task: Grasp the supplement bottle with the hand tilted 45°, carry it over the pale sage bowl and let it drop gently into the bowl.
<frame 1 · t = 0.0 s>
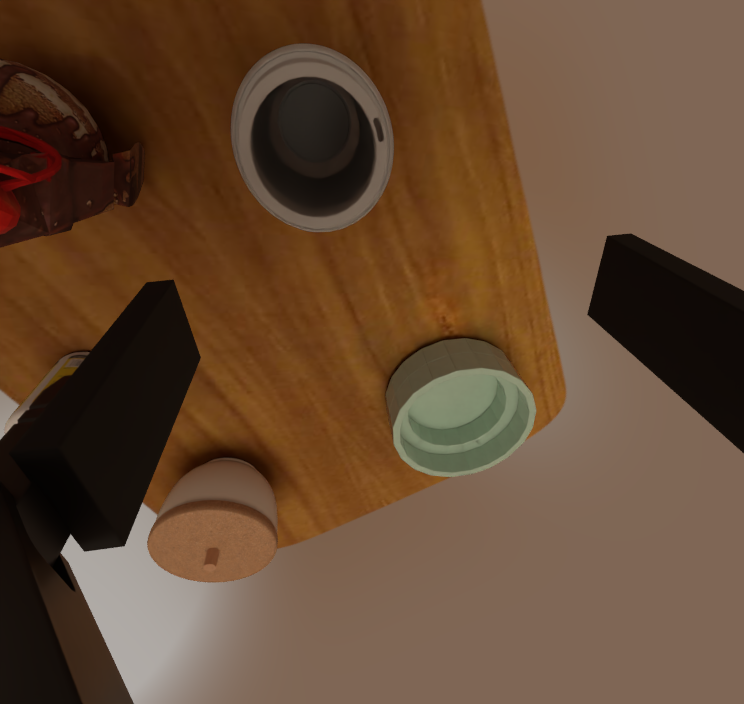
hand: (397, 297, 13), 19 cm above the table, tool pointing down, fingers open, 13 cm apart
trinket box: (229, 476, 43), on the table
sage bowl: (449, 390, 40), on the table
supplement bottle: (95, 375, 35), on the table
cup: (315, 123, 27), on the table
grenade: (69, 143, 26), on the table
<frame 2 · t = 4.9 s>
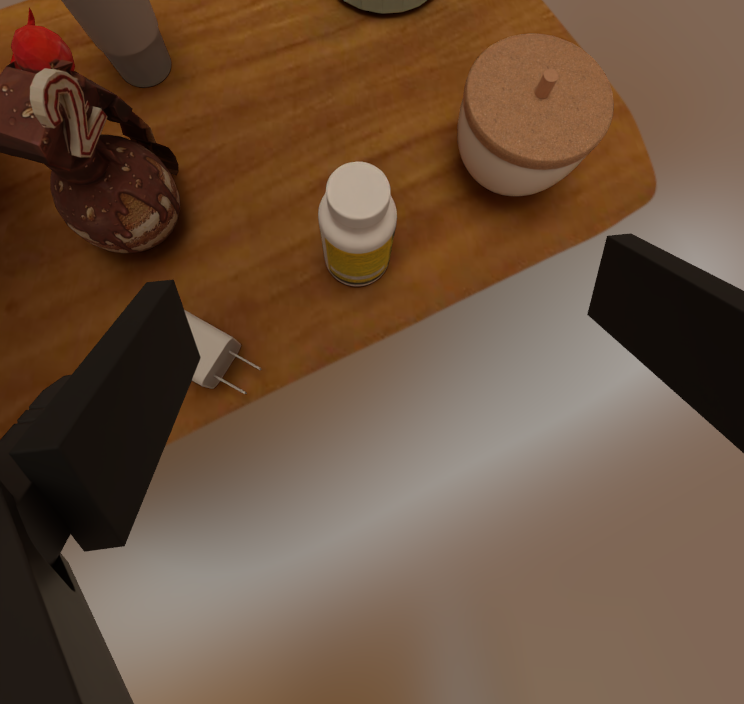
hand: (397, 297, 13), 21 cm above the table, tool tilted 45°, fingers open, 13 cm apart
trinket box: (503, 164, 38), on the table
usb wall charger: (204, 353, 29), point 4 cm above the table
supplement bottle: (357, 258, 36), on the table
cup: (146, 67, 39), on the table
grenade: (149, 217, 36), on the table
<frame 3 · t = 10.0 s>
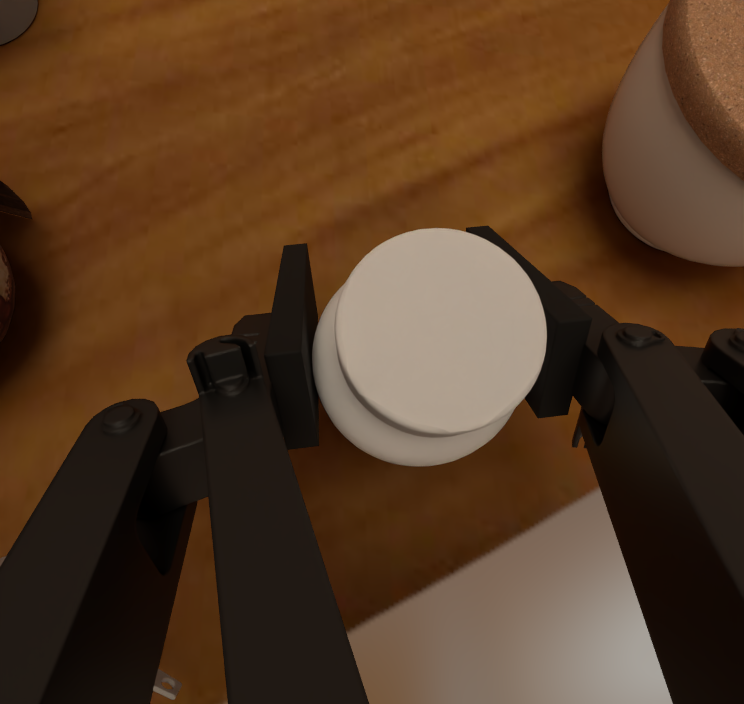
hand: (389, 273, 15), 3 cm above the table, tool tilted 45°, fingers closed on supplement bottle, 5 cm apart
trinket box: (669, 195, 20), on the table
supplement bottle: (394, 389, 18), on the table, touching gripper
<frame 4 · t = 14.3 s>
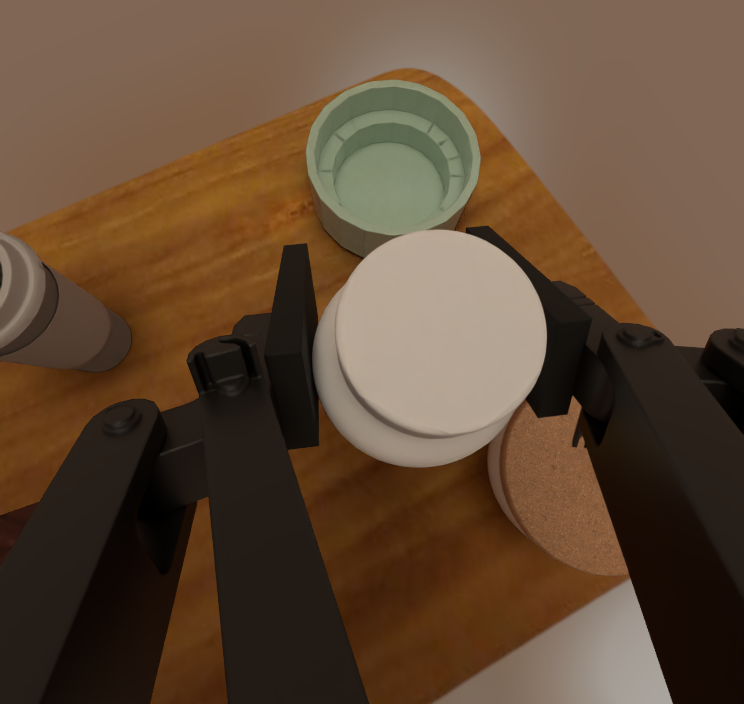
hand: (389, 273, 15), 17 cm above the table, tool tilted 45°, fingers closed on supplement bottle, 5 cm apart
trinket box: (540, 462, 31), on the table
sage bowl: (388, 194, 35), on the table
supplement bottle: (394, 390, 18), point 14 cm above the table, touching gripper
cup: (101, 342, 32), on the table
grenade: (103, 556, 29), on the table
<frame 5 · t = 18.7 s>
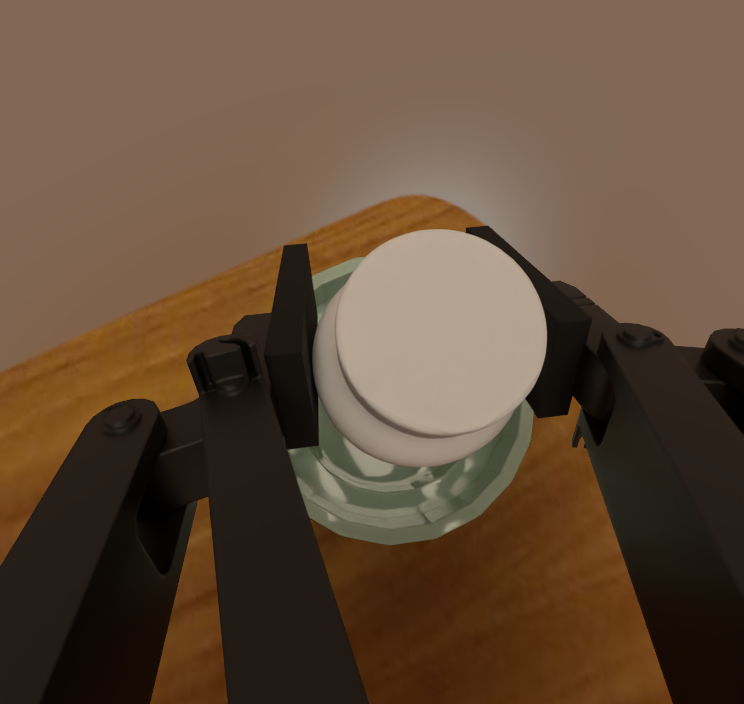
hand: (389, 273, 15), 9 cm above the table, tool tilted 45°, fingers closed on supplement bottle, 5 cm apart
sage bowl: (384, 399, 23), on the table
supplement bottle: (394, 390, 18), point 5 cm above the table, touching gripper
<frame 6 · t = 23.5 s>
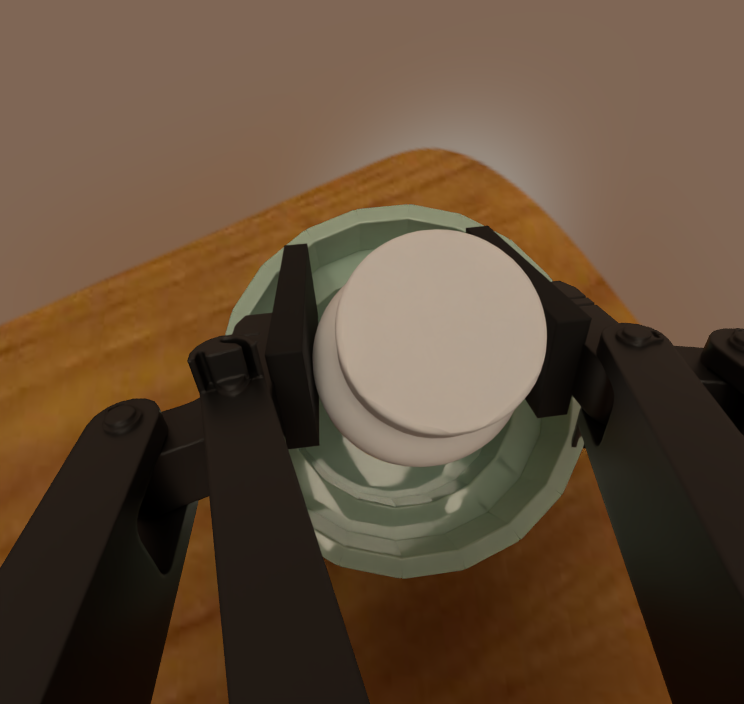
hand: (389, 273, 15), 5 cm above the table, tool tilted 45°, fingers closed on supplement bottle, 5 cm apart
sage bowl: (393, 391, 19), on the table
supplement bottle: (394, 390, 18), point 1 cm above the table, touching gripper
when the fingers open (7 cm above the table, at t = 27.4 s): supplement bottle drops 3 cm, resting on sage bowl.
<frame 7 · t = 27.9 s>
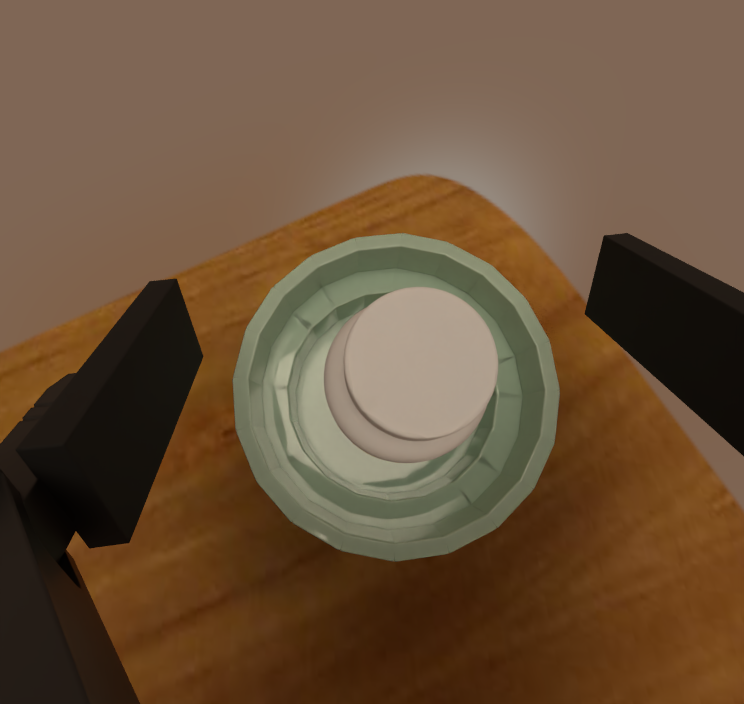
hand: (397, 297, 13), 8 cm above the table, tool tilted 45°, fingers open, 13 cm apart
sage bowl: (388, 397, 21), on the table
supplement bottle: (390, 398, 20), resting on sage bowl
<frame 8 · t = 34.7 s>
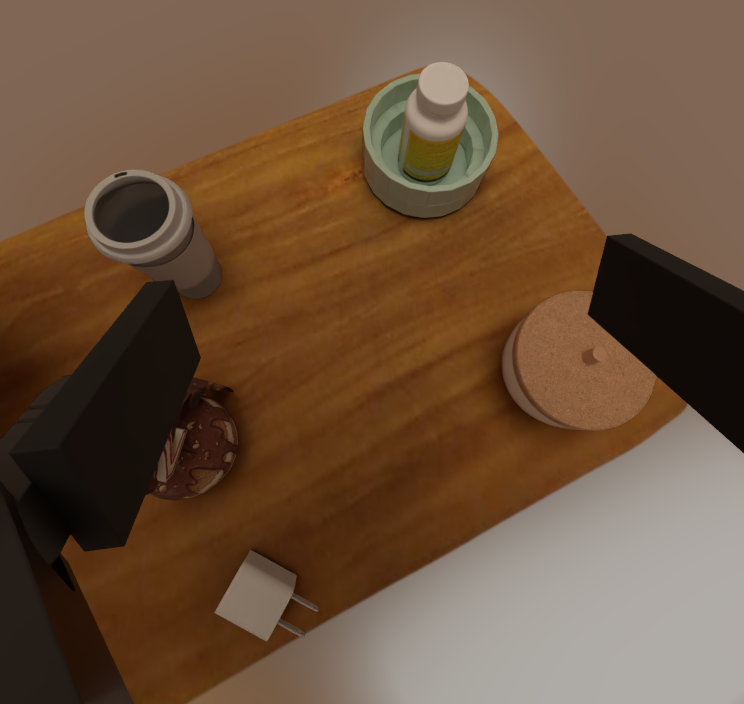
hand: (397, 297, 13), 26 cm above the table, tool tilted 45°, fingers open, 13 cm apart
trinket box: (542, 373, 39), on the table
sage bowl: (422, 165, 43), on the table
usb wall charger: (268, 613, 31), point 4 cm above the table
supplement bottle: (423, 164, 43), resting on sage bowl
cup: (197, 276, 40), on the table
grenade: (205, 436, 37), on the table
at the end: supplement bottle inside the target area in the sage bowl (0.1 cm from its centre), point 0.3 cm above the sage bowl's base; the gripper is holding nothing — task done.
